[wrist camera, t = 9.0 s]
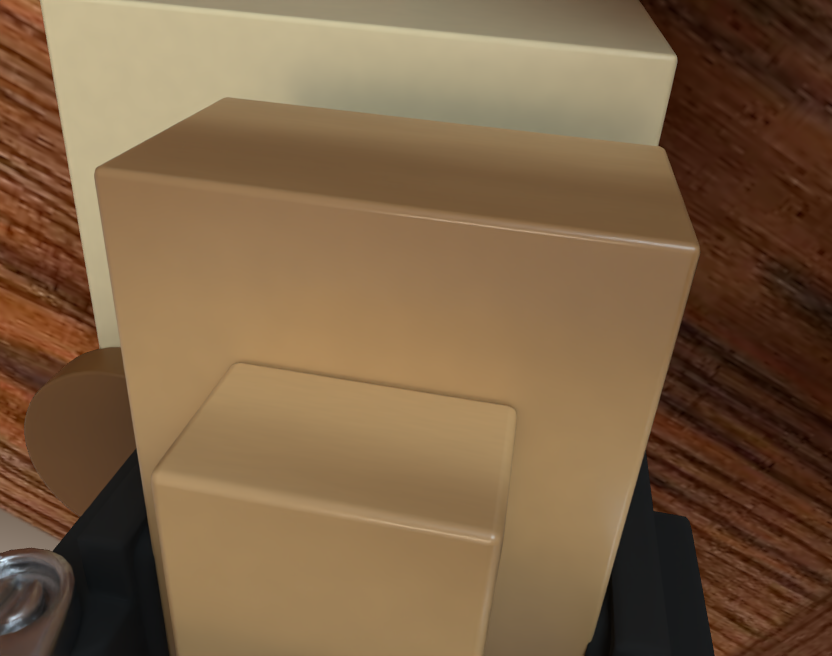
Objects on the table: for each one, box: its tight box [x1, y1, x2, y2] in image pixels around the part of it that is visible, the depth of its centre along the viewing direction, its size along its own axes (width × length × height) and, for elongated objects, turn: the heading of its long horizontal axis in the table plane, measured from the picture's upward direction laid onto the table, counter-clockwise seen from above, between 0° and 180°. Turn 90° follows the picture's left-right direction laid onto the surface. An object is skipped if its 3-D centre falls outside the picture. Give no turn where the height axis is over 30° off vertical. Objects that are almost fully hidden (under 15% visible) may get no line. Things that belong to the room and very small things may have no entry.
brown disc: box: [24, 347, 136, 517], centre depth 13 cm, size 4×4×1 cm
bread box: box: [40, 0, 678, 349], centre depth 15 cm, size 9×12×7 cm
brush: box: [94, 97, 701, 656], centre depth 9 cm, size 11×4×6 cm, turn 176°
